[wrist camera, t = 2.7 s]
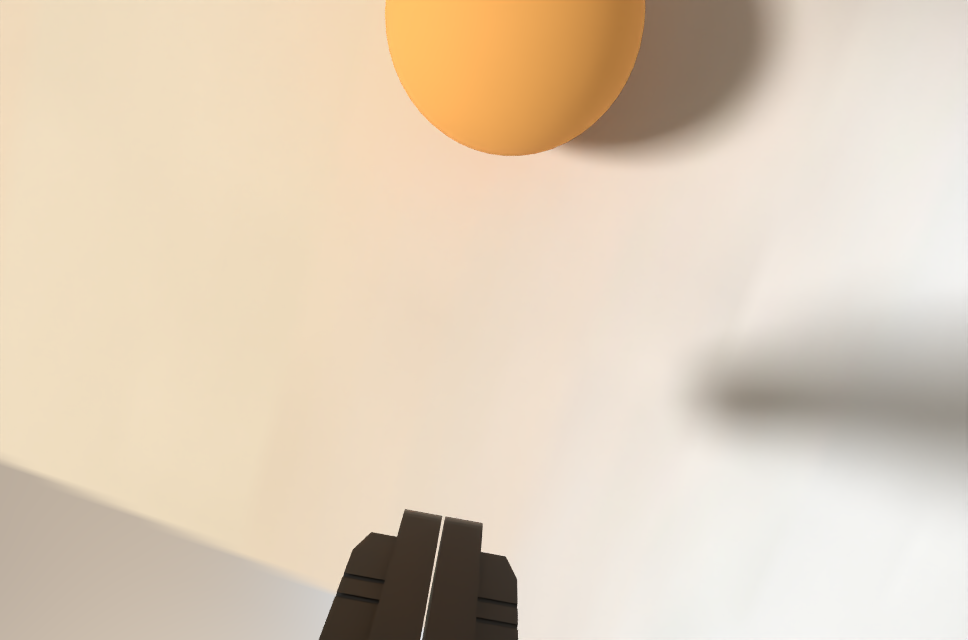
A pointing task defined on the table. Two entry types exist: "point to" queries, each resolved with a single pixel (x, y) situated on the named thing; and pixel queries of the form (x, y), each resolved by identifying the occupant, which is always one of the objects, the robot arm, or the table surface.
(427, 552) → the robot arm
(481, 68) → the ball
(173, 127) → the table surface
